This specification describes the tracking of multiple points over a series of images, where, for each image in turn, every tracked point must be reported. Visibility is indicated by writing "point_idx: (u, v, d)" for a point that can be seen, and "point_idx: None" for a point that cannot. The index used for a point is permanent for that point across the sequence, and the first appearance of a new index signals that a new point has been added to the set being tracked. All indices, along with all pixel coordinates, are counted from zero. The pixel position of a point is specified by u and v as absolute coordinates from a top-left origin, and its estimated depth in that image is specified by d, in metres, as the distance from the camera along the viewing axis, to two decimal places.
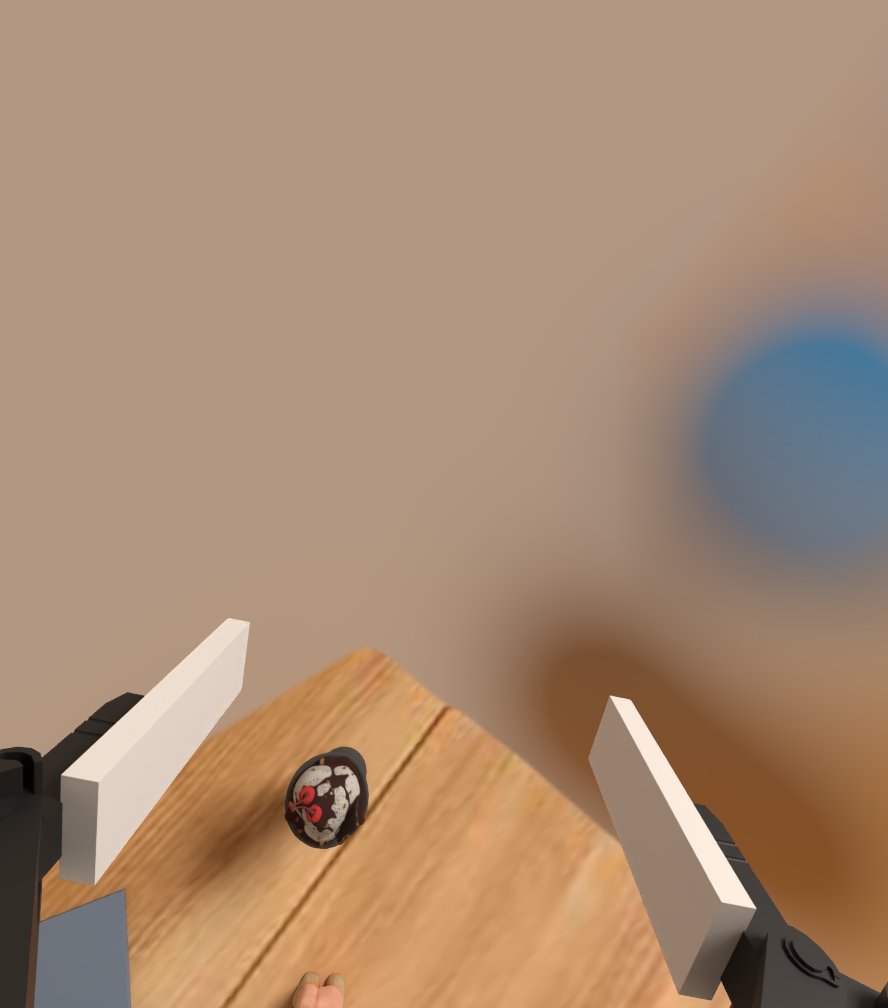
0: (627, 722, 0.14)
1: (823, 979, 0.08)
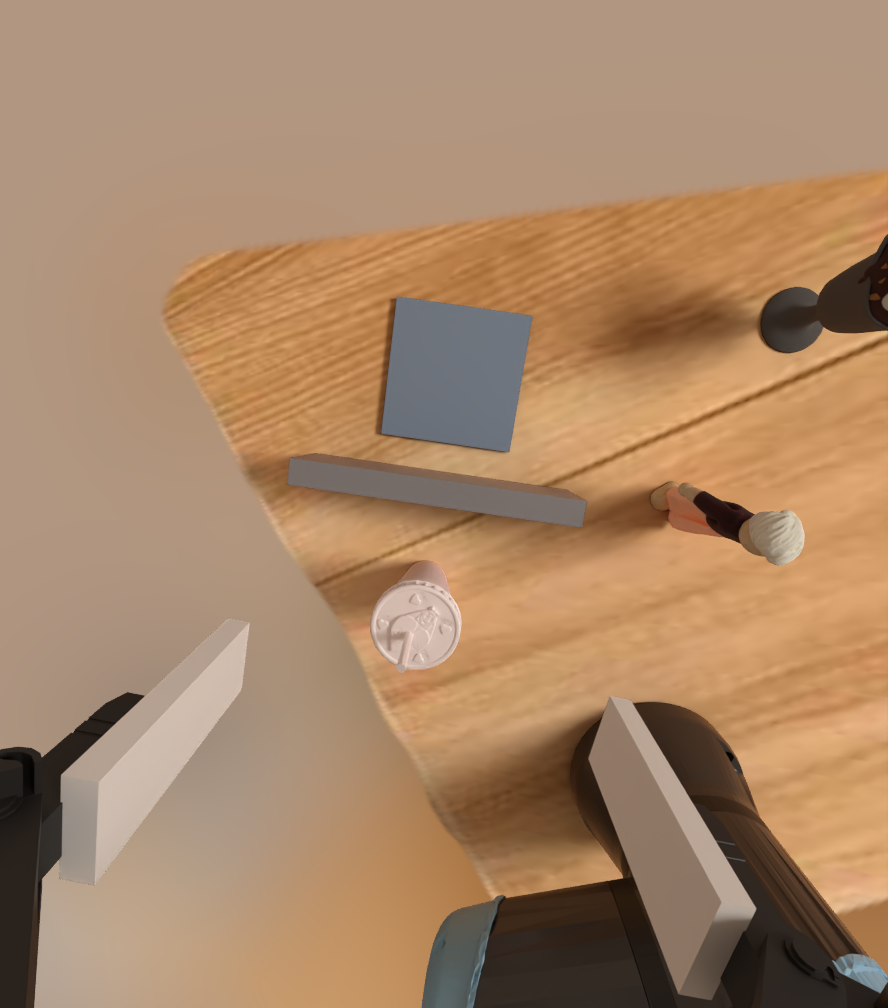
0: (627, 723, 0.14)
1: (823, 979, 0.08)
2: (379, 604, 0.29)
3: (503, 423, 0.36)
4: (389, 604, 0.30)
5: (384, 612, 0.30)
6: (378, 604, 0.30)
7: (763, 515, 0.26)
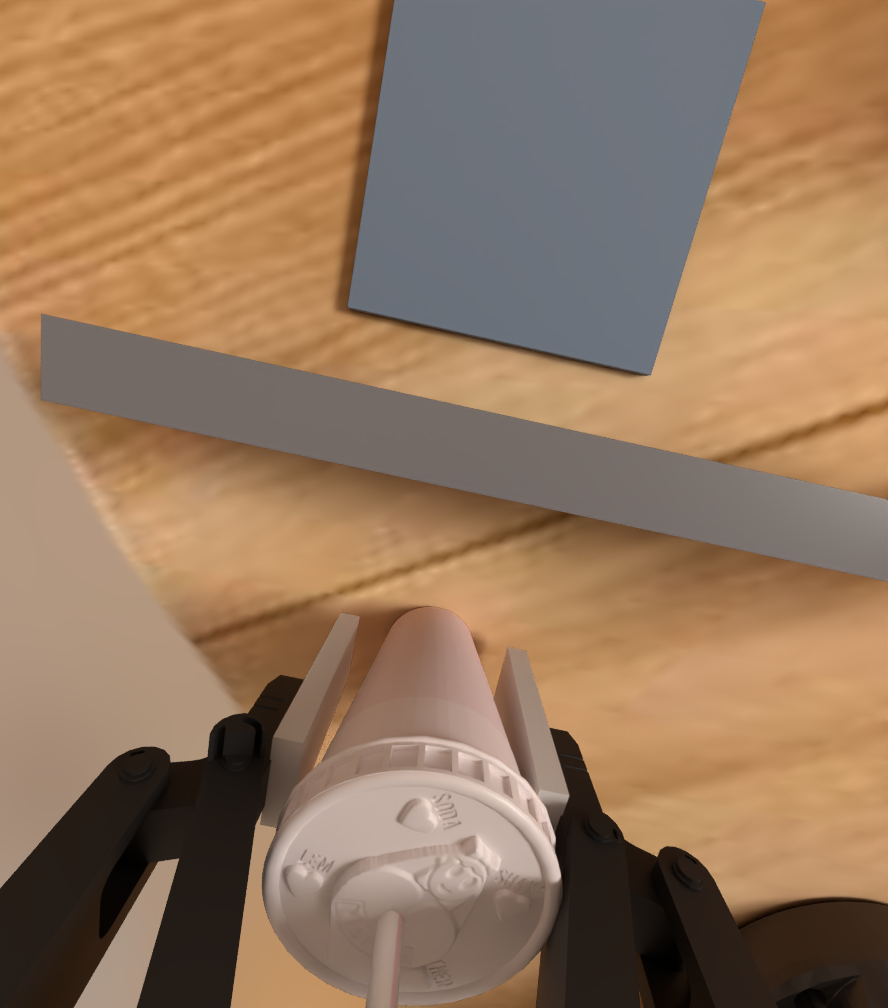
0: (514, 666, 0.16)
1: (610, 840, 0.10)
2: (293, 825, 0.09)
3: (647, 301, 0.15)
4: (328, 825, 0.09)
5: (309, 846, 0.09)
6: (290, 824, 0.09)
7: None
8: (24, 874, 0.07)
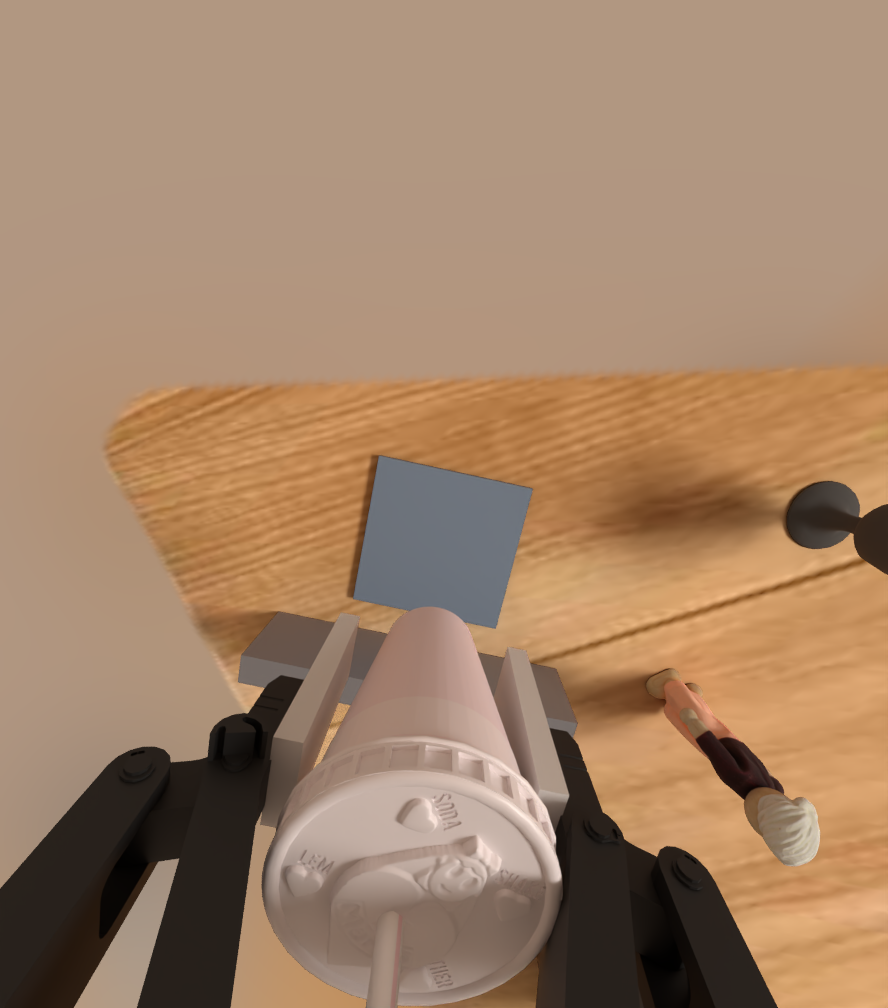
0: (514, 666, 0.16)
1: (610, 839, 0.10)
2: (293, 825, 0.09)
3: (491, 598, 0.32)
4: (328, 825, 0.09)
5: (309, 846, 0.09)
6: (290, 824, 0.09)
7: (776, 805, 0.23)
8: (24, 874, 0.07)
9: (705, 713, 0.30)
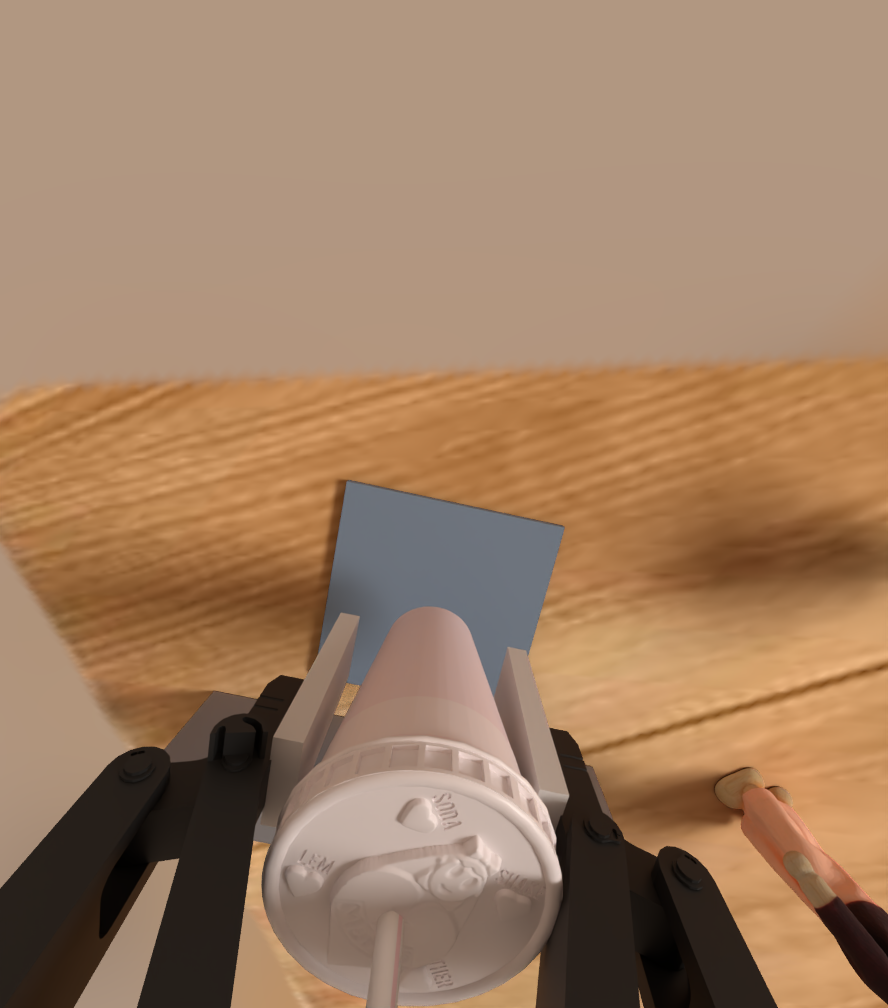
0: (514, 666, 0.16)
1: (610, 840, 0.10)
2: (293, 825, 0.09)
3: None
4: (328, 825, 0.09)
5: (309, 846, 0.09)
6: (290, 824, 0.09)
7: None
8: (24, 874, 0.07)
9: (814, 850, 0.21)
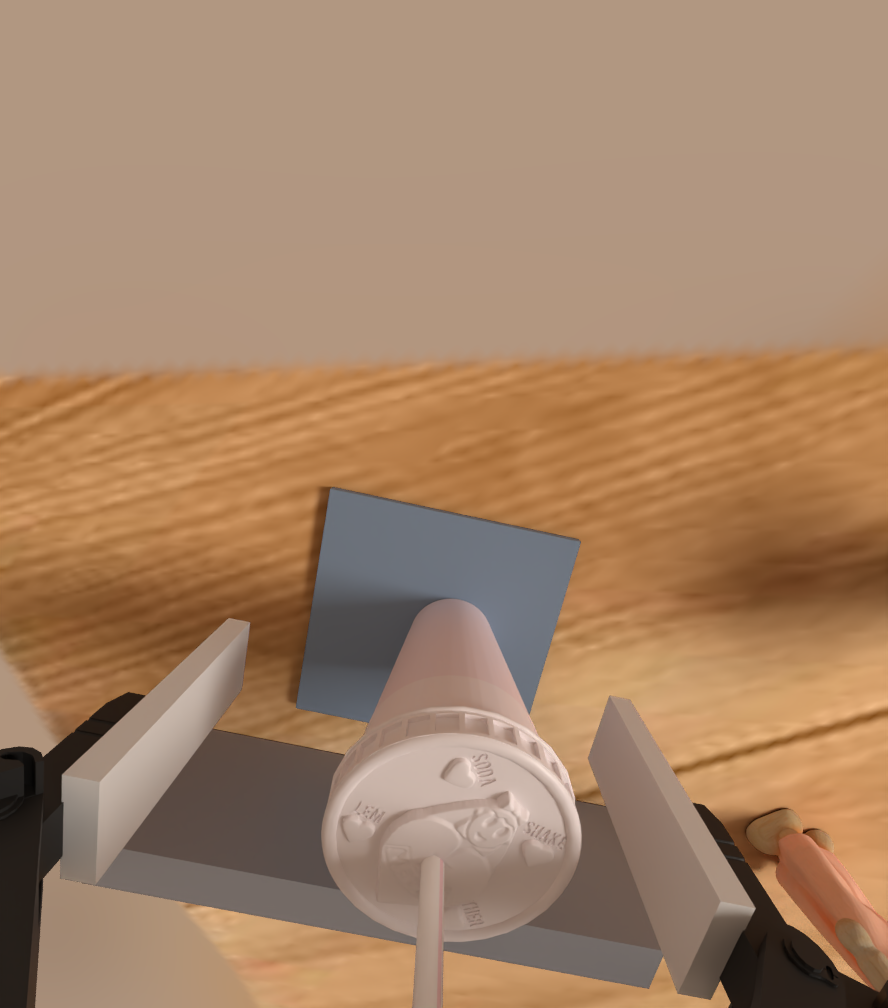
0: (626, 722, 0.14)
1: (822, 977, 0.08)
2: (352, 779, 0.10)
3: None
4: (381, 780, 0.10)
5: (363, 799, 0.10)
6: (349, 779, 0.10)
7: None
8: None
9: (867, 913, 0.18)
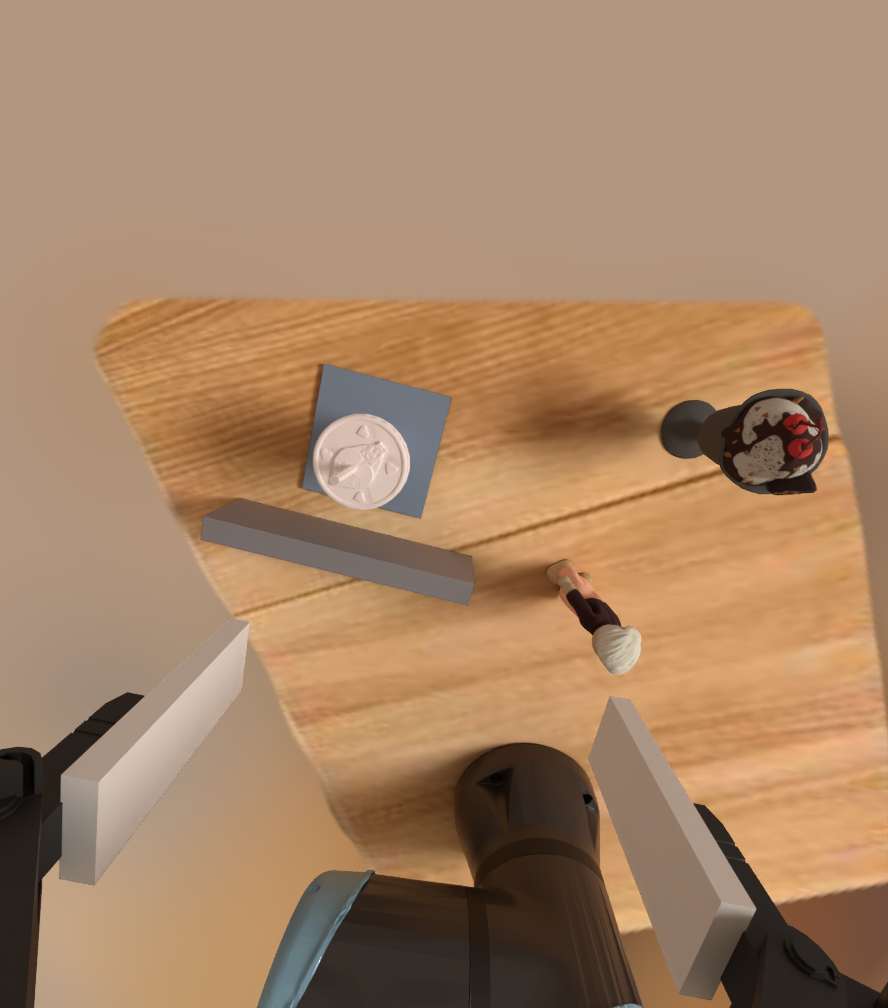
0: (627, 722, 0.14)
1: (823, 978, 0.08)
2: (324, 432, 0.28)
3: (417, 492, 0.39)
4: (335, 433, 0.28)
5: (328, 441, 0.28)
6: (323, 432, 0.28)
7: (608, 630, 0.30)
8: None
9: (583, 585, 0.36)
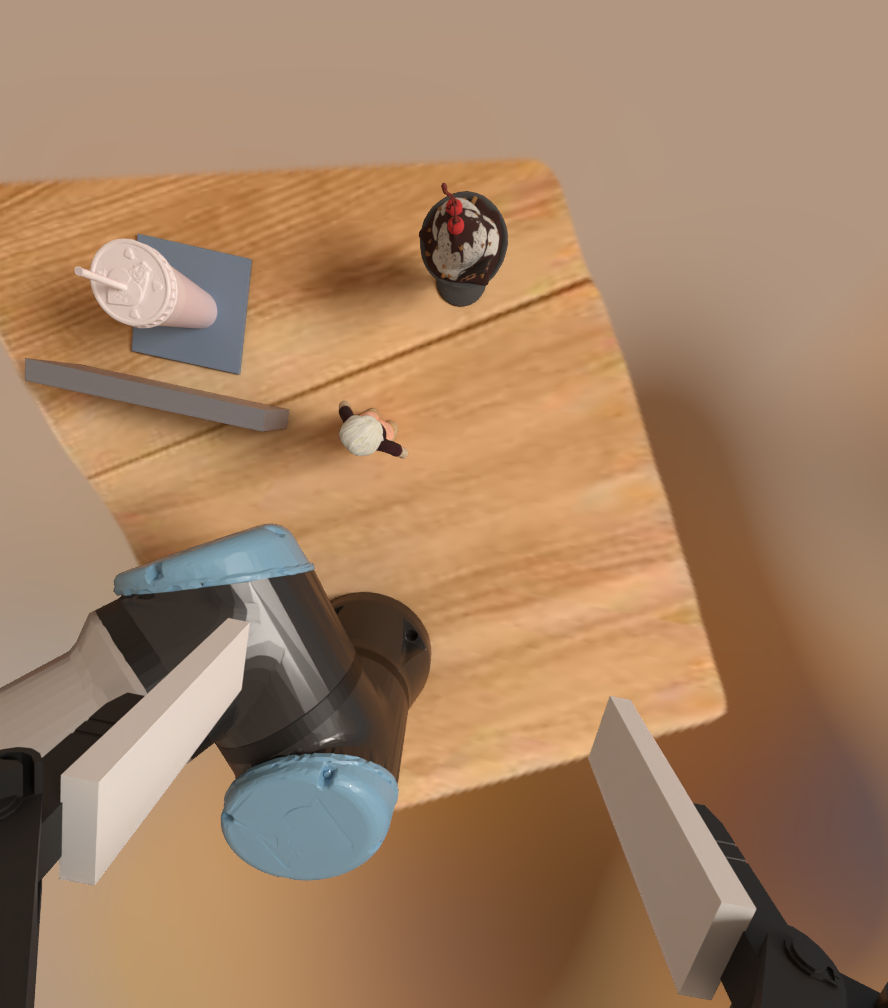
0: (627, 722, 0.14)
1: (823, 978, 0.08)
2: (96, 255, 0.33)
3: (232, 349, 0.44)
4: (106, 256, 0.33)
5: (101, 264, 0.33)
6: (95, 255, 0.33)
7: (349, 417, 0.35)
8: None
9: (369, 415, 0.41)
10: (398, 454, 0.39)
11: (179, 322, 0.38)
